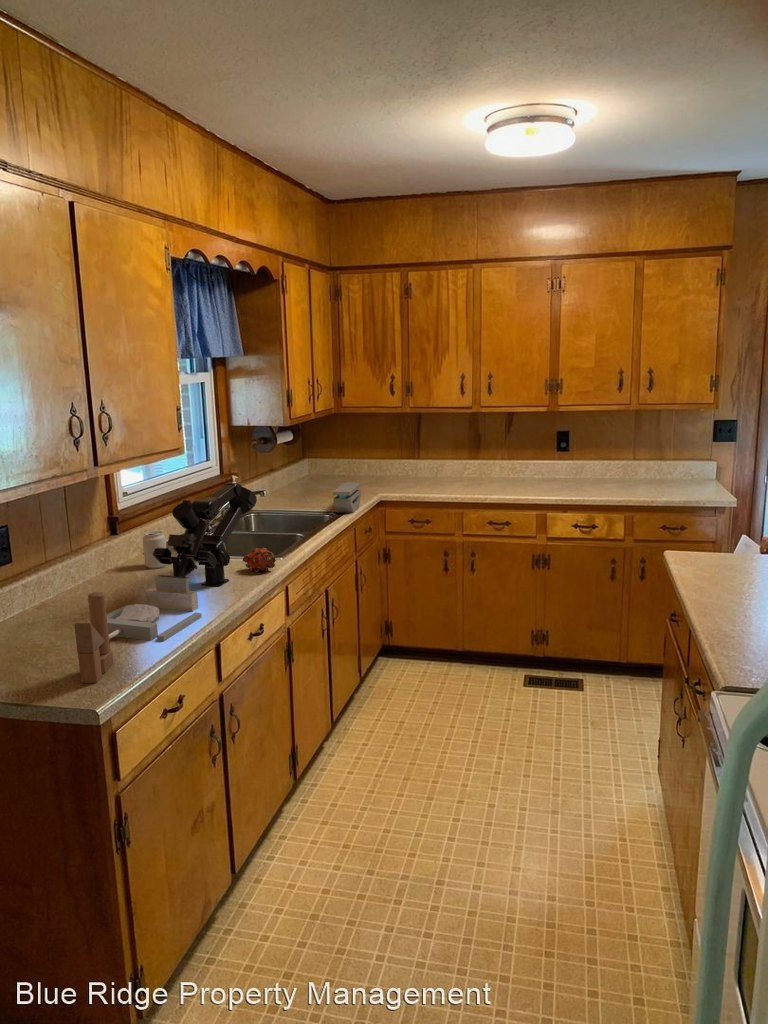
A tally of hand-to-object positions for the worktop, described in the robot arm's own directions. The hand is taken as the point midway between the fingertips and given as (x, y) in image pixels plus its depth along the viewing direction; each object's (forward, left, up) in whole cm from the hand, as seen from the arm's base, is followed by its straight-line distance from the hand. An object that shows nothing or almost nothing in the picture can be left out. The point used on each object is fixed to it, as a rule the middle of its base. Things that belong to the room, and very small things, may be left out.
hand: (175, 583), depth 214 cm
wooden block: (+46, +9, -7) cm, 48 cm away
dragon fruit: (-38, +7, -7) cm, 39 cm away
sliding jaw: (+2, 0, -7) cm, 7 cm away
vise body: (+21, 0, -7) cm, 23 cm away
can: (-34, -30, -7) cm, 46 cm away
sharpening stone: (-137, +2, -7) cm, 138 cm away
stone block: (+15, -2, -7) cm, 17 cm away
